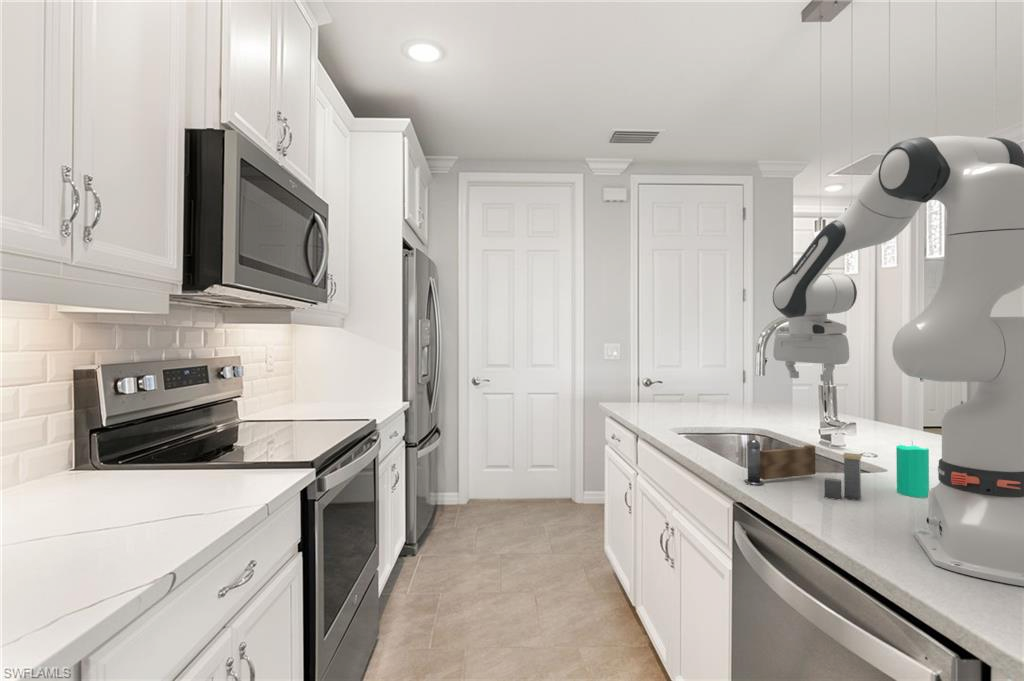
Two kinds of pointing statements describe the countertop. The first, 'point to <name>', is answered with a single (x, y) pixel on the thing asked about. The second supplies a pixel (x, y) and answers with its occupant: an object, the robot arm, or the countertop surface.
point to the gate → (787, 462)
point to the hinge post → (753, 463)
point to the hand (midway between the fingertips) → (809, 379)
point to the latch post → (846, 479)
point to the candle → (912, 470)
